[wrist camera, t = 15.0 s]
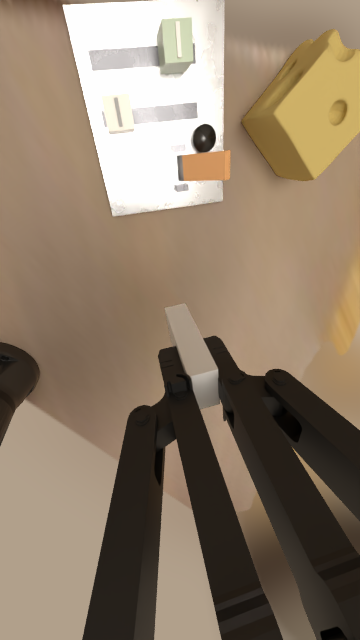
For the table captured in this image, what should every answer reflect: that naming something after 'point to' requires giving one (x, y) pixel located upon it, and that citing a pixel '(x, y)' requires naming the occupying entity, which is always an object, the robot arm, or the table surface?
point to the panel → (151, 98)
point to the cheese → (308, 109)
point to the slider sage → (175, 45)
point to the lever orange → (204, 166)
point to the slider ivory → (118, 113)
